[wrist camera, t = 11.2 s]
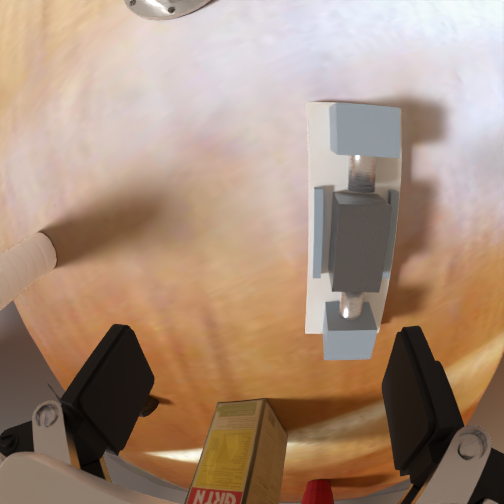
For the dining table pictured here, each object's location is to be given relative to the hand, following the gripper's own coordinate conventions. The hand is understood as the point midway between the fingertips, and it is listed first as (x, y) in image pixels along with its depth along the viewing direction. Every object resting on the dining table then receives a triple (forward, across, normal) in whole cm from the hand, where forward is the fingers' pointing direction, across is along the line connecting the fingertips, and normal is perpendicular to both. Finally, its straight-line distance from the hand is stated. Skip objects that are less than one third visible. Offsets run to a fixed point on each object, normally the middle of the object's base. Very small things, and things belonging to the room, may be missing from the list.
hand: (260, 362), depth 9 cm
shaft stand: (+21, -7, +4) cm, 23 cm away
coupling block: (+20, -7, +4) cm, 21 cm away
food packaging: (+20, +6, +38) cm, 44 cm away
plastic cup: (+19, -7, +71) cm, 74 cm away
